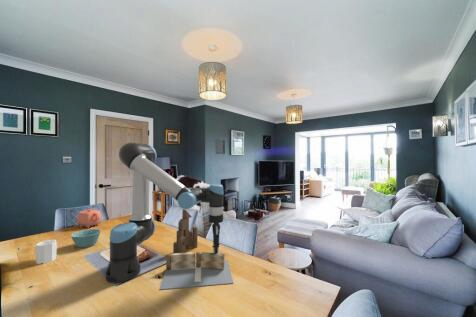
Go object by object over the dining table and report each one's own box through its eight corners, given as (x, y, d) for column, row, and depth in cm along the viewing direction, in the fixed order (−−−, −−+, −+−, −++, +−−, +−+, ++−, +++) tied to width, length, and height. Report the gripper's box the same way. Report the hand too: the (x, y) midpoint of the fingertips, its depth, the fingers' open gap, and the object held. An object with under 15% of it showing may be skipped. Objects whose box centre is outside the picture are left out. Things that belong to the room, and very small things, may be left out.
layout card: (159, 290, 91) (159, 289, 91) (168, 264, 112) (168, 264, 112) (233, 283, 96) (233, 282, 96) (227, 260, 117) (227, 260, 117)
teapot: (71, 226, 176) (72, 209, 176) (87, 222, 188) (87, 206, 188) (90, 229, 168) (90, 211, 169) (105, 225, 180) (105, 208, 181)
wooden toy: (181, 256, 123) (181, 213, 123) (173, 253, 126) (173, 211, 126) (198, 246, 137) (198, 207, 137) (190, 244, 140) (190, 206, 140)
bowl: (65, 247, 133) (65, 234, 134) (90, 239, 148) (90, 227, 148) (81, 252, 128) (81, 238, 128) (106, 242, 142) (106, 230, 142)
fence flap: (200, 267, 109) (200, 253, 109) (202, 265, 111) (202, 252, 111) (223, 269, 107) (223, 255, 107) (224, 267, 109) (224, 253, 109)
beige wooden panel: (165, 270, 106) (165, 255, 106) (166, 268, 109) (166, 253, 109) (200, 268, 109) (200, 253, 109) (200, 266, 111) (200, 251, 111)
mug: (60, 257, 120) (60, 240, 120) (42, 265, 111) (42, 246, 112) (44, 255, 123) (44, 238, 123) (26, 262, 115) (26, 244, 115)
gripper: (224, 217, 106) (224, 263, 106) (222, 210, 118) (221, 252, 119) (209, 217, 104) (209, 265, 105) (208, 211, 117) (208, 253, 117)
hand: (215, 258), depth 112 cm, fingers closed
